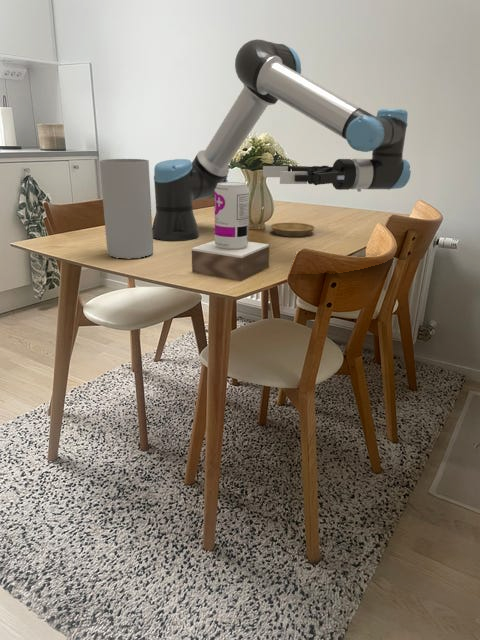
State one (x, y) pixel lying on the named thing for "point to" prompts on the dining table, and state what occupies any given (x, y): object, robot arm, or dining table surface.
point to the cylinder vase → (127, 207)
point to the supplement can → (231, 215)
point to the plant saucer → (292, 229)
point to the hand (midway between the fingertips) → (271, 174)
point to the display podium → (230, 260)
